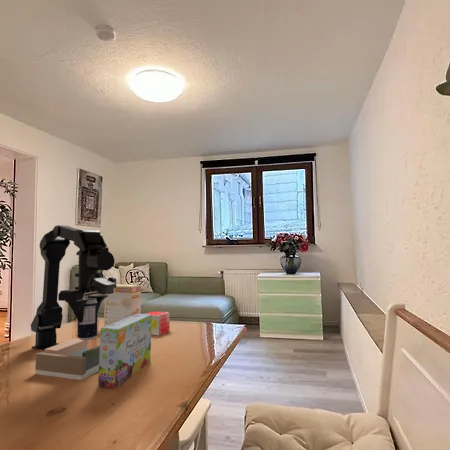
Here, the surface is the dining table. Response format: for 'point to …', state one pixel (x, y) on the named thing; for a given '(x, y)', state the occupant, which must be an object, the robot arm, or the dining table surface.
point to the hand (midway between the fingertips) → (87, 320)
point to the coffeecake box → (122, 303)
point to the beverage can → (89, 320)
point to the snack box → (124, 349)
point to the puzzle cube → (159, 322)
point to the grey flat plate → (92, 357)
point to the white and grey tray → (63, 366)
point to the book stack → (69, 348)
